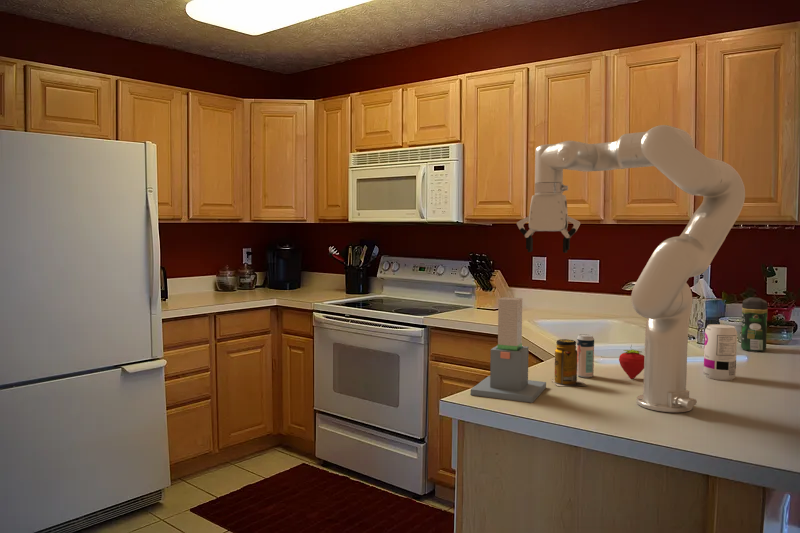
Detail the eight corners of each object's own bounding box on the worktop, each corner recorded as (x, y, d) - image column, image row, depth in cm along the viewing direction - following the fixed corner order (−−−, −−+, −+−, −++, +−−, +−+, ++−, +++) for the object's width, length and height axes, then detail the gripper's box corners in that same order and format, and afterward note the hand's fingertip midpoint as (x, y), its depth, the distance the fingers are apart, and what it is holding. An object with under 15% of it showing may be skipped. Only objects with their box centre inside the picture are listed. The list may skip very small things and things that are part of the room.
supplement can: (699, 377, 177) (701, 326, 176) (708, 372, 183) (710, 322, 182) (730, 382, 172) (732, 329, 171) (738, 377, 178) (740, 325, 177)
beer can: (580, 373, 182) (581, 333, 181) (595, 376, 179) (596, 335, 178) (573, 376, 178) (574, 335, 177) (589, 379, 175) (590, 337, 174)
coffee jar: (740, 346, 224) (742, 295, 223) (765, 348, 220) (767, 297, 219) (740, 351, 216) (742, 298, 214) (766, 353, 212) (768, 299, 211)
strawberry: (644, 382, 171) (645, 347, 170) (616, 379, 175) (617, 344, 174) (648, 378, 176) (649, 343, 175) (620, 375, 180) (621, 341, 179)
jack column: (521, 361, 163) (522, 298, 162) (516, 365, 158) (517, 300, 157) (502, 360, 165) (503, 297, 164) (497, 363, 160) (498, 299, 159)
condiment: (550, 380, 174) (551, 338, 173) (580, 380, 174) (581, 338, 173) (556, 386, 167) (557, 343, 166) (588, 386, 167) (588, 343, 166)
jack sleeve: (546, 387, 166) (546, 345, 165) (532, 402, 151) (533, 356, 150) (488, 381, 172) (489, 340, 172) (470, 395, 158) (470, 350, 157)
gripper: (583, 190, 169) (581, 252, 170) (520, 191, 176) (519, 251, 177) (578, 188, 162) (577, 253, 163) (514, 190, 169) (513, 252, 170)
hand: (547, 252), depth 170 cm, fingers open, 9 cm apart
